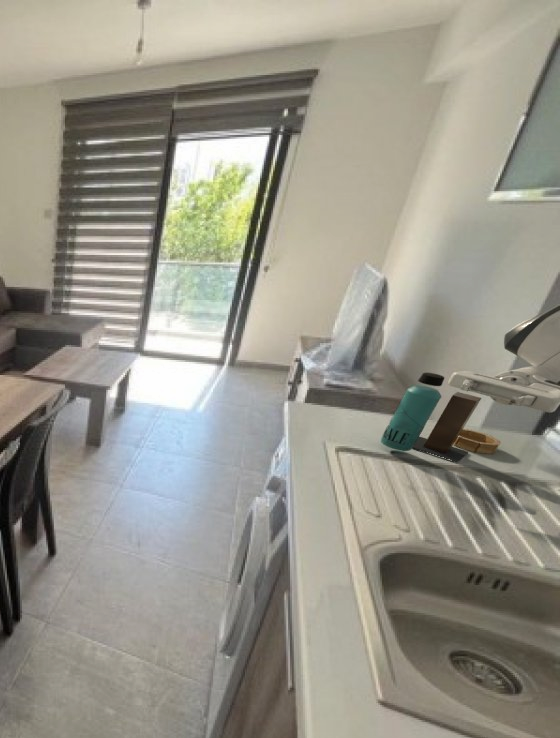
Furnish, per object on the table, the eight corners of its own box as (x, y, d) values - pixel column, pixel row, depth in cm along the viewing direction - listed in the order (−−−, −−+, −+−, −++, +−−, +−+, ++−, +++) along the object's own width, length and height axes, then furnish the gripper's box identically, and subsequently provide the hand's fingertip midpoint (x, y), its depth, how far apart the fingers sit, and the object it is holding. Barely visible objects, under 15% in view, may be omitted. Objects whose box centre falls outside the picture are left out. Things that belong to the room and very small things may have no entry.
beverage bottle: (407, 449, 120) (449, 373, 111) (411, 459, 115) (456, 381, 106) (375, 441, 123) (413, 367, 114) (378, 451, 118) (418, 375, 109)
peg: (450, 449, 120) (481, 397, 114) (445, 453, 118) (477, 401, 111) (428, 442, 123) (457, 391, 117) (422, 446, 121) (452, 395, 114)
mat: (467, 453, 120) (468, 451, 120) (456, 463, 115) (457, 462, 114) (417, 437, 127) (418, 436, 127) (405, 446, 122) (406, 445, 121)
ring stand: (498, 447, 123) (503, 439, 122) (489, 457, 118) (495, 448, 117) (450, 433, 130) (455, 425, 129) (440, 441, 125) (446, 433, 124)
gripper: (469, 363, 130) (444, 368, 124) (578, 389, 114) (554, 396, 108) (457, 385, 133) (431, 391, 127) (561, 413, 117) (537, 421, 111)
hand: (489, 393), depth 118 cm, fingers open, 8 cm apart
